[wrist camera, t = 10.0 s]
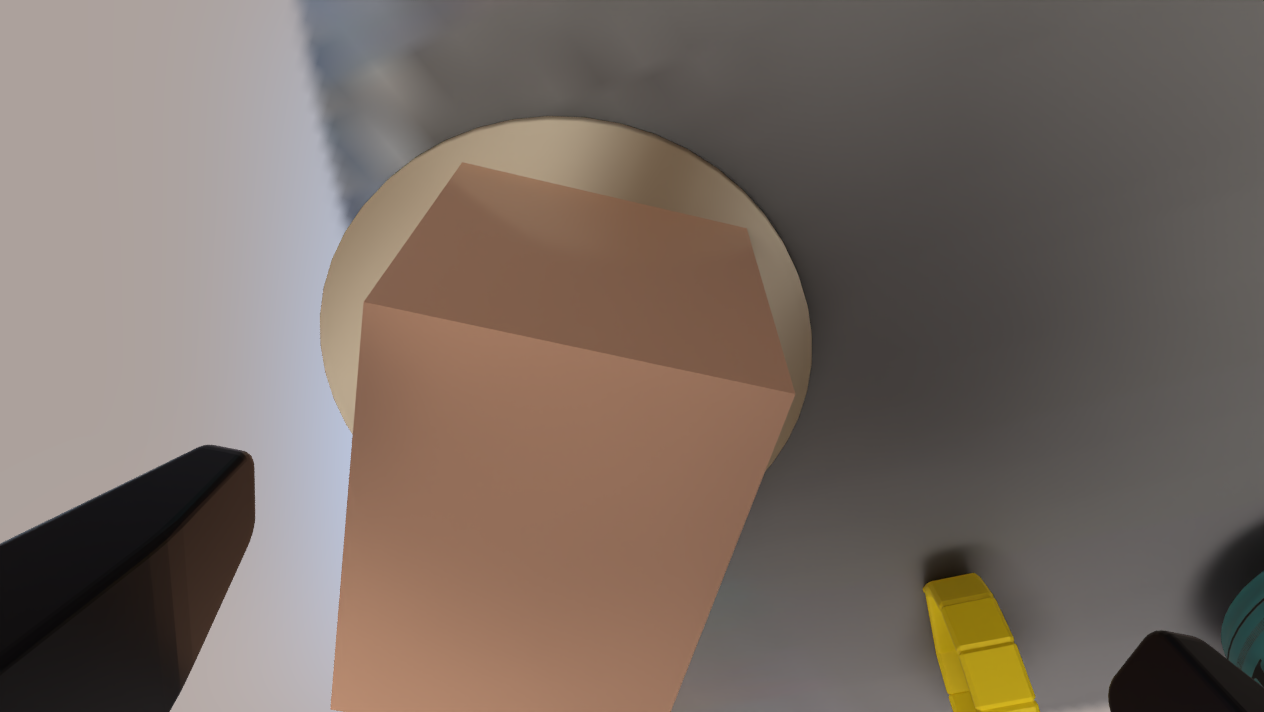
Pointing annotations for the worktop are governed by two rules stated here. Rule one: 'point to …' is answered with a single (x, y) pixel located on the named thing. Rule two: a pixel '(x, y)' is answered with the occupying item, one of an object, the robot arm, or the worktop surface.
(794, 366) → the coaster
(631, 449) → the salmon pink block
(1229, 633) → the beverage bottle
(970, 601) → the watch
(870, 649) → the worktop surface
